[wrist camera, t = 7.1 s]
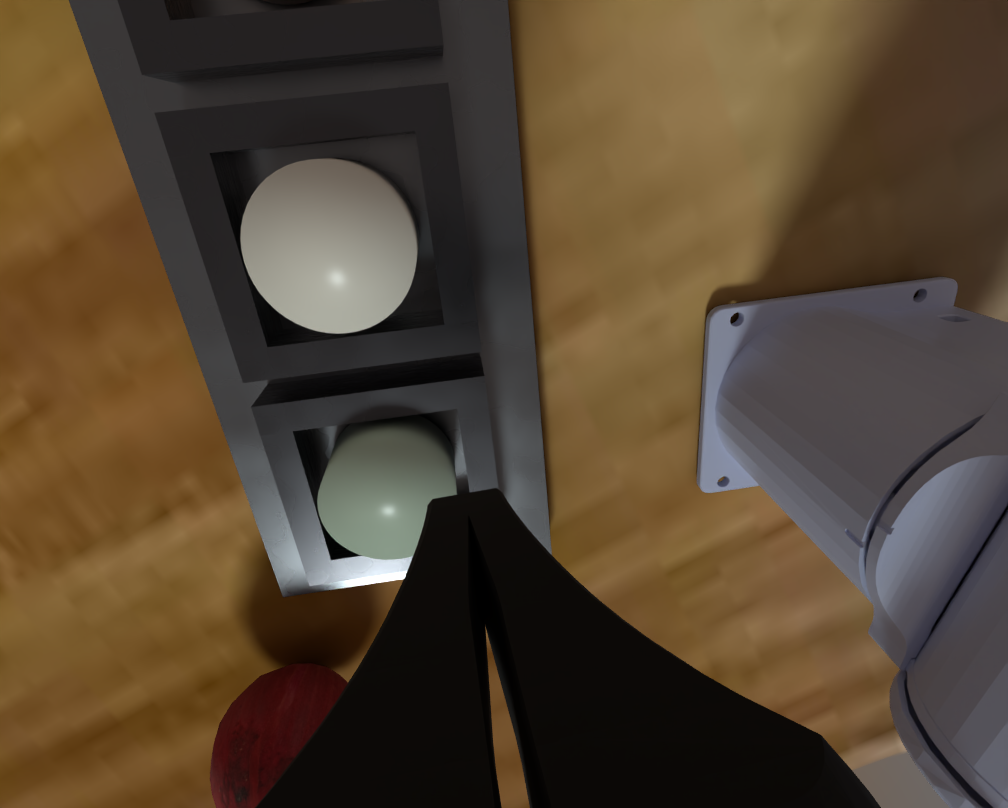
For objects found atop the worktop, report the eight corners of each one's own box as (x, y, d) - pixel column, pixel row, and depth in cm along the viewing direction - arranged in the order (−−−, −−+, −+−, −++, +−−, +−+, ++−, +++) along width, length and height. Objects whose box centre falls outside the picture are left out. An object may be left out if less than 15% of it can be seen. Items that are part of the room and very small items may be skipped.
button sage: (446, 401, 19) (447, 436, 17) (462, 506, 21) (465, 549, 19) (318, 419, 19) (301, 456, 17) (346, 523, 21) (334, 568, 19)
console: (467, -416, 12) (476, -573, 10) (546, 537, 24) (560, 587, 21) (-43, -390, 12) (-185, -548, 9) (290, 576, 23) (270, 632, 21)
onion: (218, 652, 25) (127, 860, 17) (332, 603, 24) (287, 796, 17) (291, 726, 27) (237, 935, 20) (396, 683, 27) (380, 881, 19)
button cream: (405, 149, 16) (400, 149, 14) (429, 300, 18) (428, 322, 15) (249, 166, 16) (216, 169, 13) (290, 317, 17) (268, 343, 15)
